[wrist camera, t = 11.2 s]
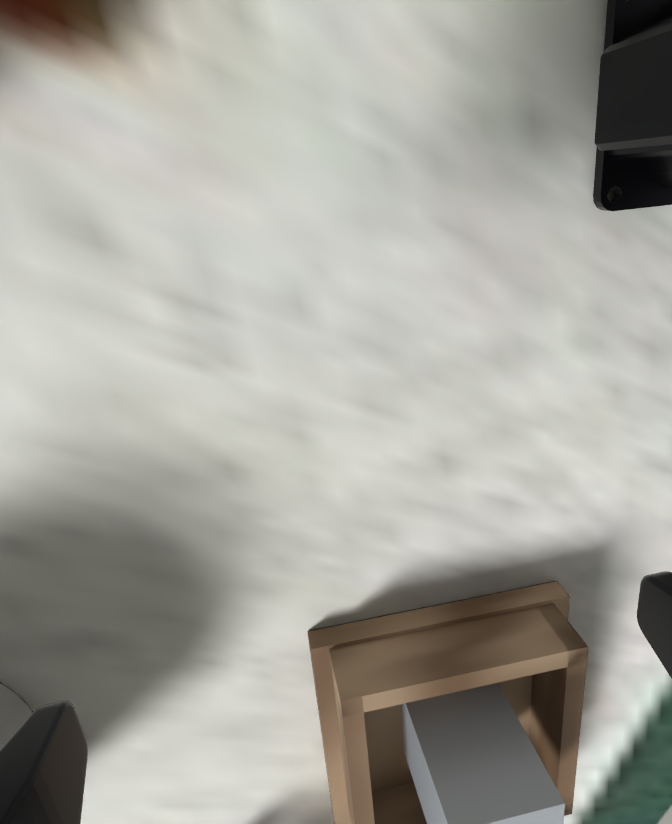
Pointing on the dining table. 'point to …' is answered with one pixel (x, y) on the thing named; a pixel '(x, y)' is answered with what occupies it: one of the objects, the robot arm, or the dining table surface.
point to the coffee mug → (11, 714)
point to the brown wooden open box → (444, 690)
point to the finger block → (476, 761)
